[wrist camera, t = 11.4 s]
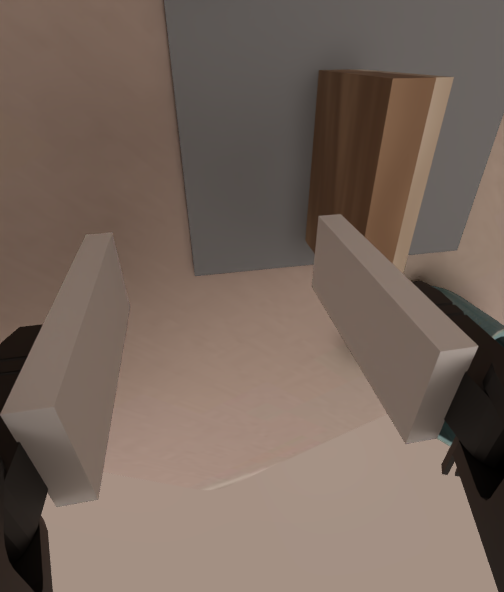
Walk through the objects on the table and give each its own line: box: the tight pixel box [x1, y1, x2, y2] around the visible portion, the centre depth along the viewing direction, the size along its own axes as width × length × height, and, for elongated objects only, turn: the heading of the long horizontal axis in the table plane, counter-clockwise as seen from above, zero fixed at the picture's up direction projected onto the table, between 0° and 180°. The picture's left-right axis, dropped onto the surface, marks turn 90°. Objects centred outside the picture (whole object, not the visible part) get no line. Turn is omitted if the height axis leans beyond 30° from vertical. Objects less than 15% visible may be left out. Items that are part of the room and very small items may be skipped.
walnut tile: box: [305, 69, 454, 273], centre depth 19 cm, size 2×10×8 cm, turn 1°
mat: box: [164, 0, 504, 276], centre depth 22 cm, size 20×16×1 cm
